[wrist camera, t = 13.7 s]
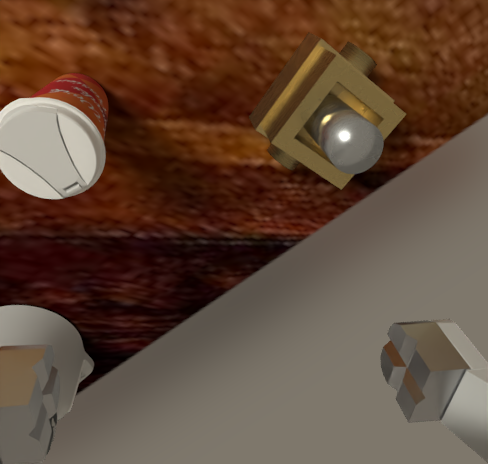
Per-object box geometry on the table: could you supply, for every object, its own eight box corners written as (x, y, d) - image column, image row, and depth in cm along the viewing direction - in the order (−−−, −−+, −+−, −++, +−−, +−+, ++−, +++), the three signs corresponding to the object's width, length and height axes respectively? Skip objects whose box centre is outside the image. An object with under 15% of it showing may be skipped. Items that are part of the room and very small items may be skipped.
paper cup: (135, 118, 44) (124, 176, 32) (71, 153, 45) (38, 221, 33) (87, 44, 40) (55, 79, 28) (17, 84, 40) (-42, 134, 29)
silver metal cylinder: (314, 146, 44) (343, 183, 36) (295, 110, 42) (322, 140, 34) (353, 124, 43) (390, 156, 36) (336, 85, 41) (372, 111, 33)
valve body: (309, 174, 50) (331, 207, 44) (240, 128, 46) (253, 157, 39) (387, 78, 46) (425, 98, 39) (318, 18, 41) (348, 29, 35)
